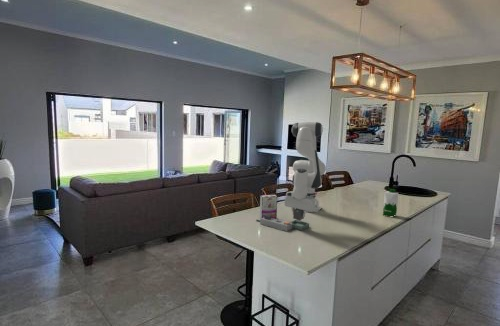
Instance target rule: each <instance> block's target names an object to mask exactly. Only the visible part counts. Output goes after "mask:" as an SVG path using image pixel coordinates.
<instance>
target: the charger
mask: <svg viewBox="0 0 500 326" xmlns="http://www.w3.org/2000/svg"><path fill="white" fill-rule="evenodd" d="M303 213H304V210H301V209H296V208H295V209H294V214H293V213H292V215H293V217H292V219H294V220H296V221H297V222H301V221H302V220H304V219H305V217H302V214H303Z"/></svg>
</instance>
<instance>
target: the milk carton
mask: <svg viewBox="0 0 500 326" xmlns="http://www.w3.org/2000/svg"><path fill="white" fill-rule="evenodd" d="M383 196H384V200H383V209H382V210H383V211H382V216H384V215H388V216H394V215H396V216H397V211H398V210H397V209H398V201H399V192H396V189H394V188H390V189H389V190H387V191H385V192H384V195H383ZM388 216H387V217H388ZM394 217H395V216H394Z"/></svg>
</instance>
